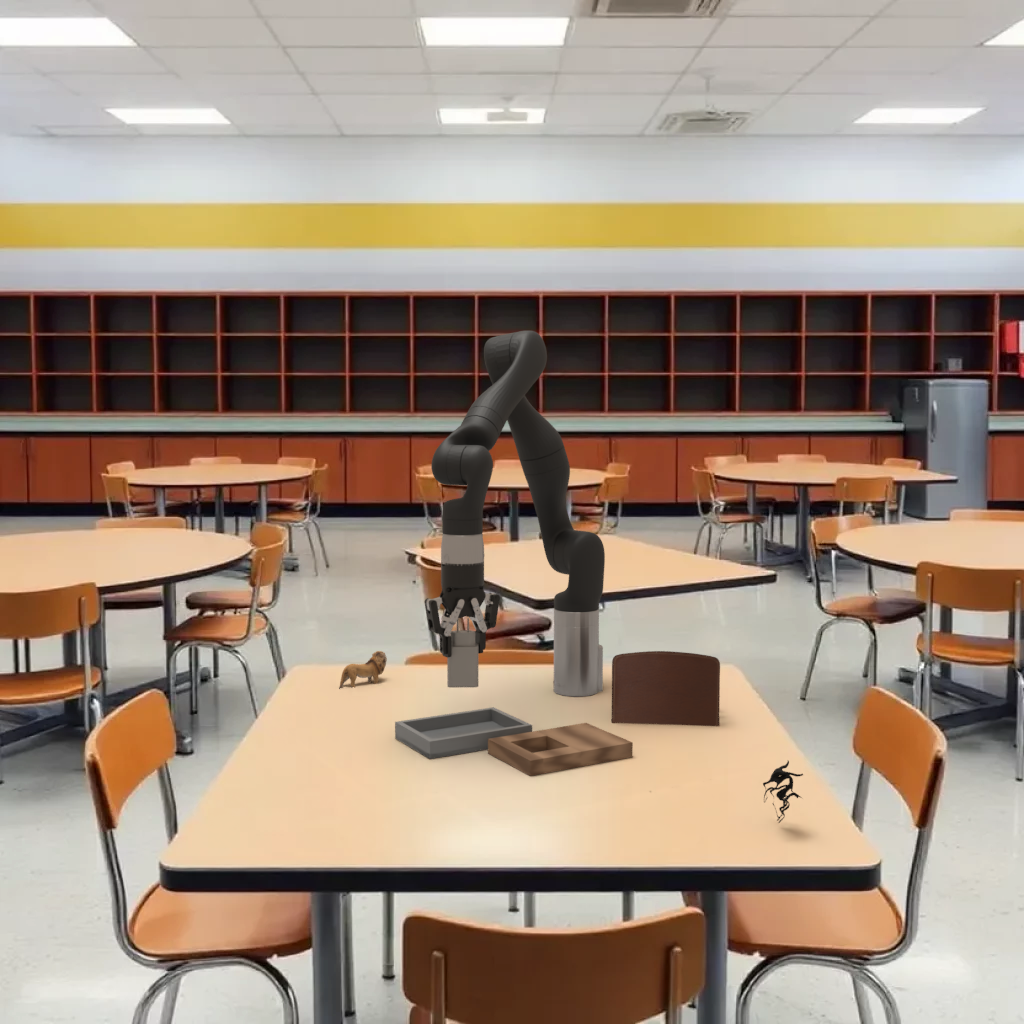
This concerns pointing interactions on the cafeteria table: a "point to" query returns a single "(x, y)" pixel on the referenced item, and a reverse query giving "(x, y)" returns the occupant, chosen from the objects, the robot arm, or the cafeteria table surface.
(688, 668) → the letter holder
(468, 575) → the robot arm
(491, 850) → the cafeteria table surface
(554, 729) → the dock board
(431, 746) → the tray
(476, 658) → the power adapter
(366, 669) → the lion figurine
